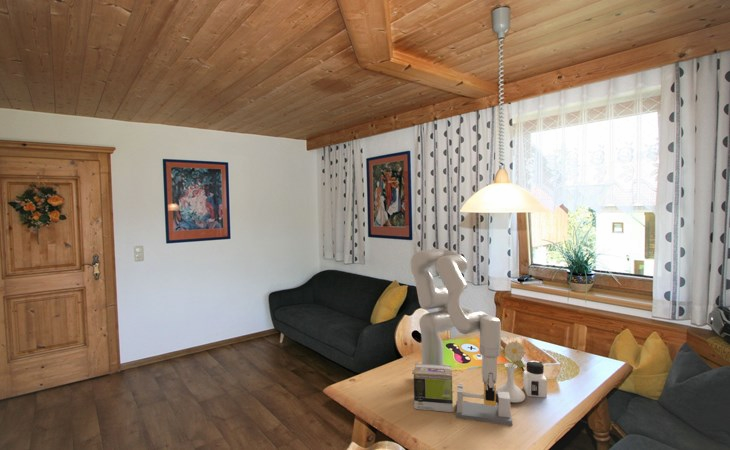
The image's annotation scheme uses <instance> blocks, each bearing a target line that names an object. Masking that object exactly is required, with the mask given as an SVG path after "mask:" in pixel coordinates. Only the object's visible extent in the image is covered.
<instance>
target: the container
mask: <svg viewBox="0 0 730 450" xmlns="http://www.w3.org/2000/svg"><path fill="white" fill-rule="evenodd" d="M544 369H545V368H544V364H543V363H541V362H540V361H537V360H529V361H527V362H526V370H523V379H522V381H523V382H522V383H523V384H522V385H523V386H522V387H523V390H524V392H525V395H526V396H527V397H534V398H545V399H547V395H548V393H547V392H548V380H547V378H546V376H545V374H544Z"/></svg>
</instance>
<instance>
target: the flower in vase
mask: <svg viewBox="0 0 730 450" xmlns="http://www.w3.org/2000/svg"><path fill="white" fill-rule="evenodd" d="M525 350H526V349H525V346H524V345H523V344H522V343H520V342H519V341H517V340H515V341H511V342H508V343H507V344H506V346H505V347H504V354H505V355H504V358H505V359H506V360H507V361H508V363H507V362H505V363H504V365H503V366H504V367H505V369H506V372H507V373H506V374H507V380H506V382H505V383H504V384H502V385H500V386H499V387H498V388H497V387H496V394H498V391H500V392H509V396H510V403H521V402H523V401H524V400H525V399H526V393H524V392H525V391H523V390H522V389H521V388H519V387H518V386H517V385H516V384H515V381H514V375H515V371H516V369H517V368H518V367H519V368H526V366H525V364H524V362H523V360H522V359H523V358H524V357H525V354H526V352H525ZM515 363H516V364H515Z"/></svg>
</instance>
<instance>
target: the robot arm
mask: <svg viewBox="0 0 730 450" xmlns="http://www.w3.org/2000/svg"><path fill="white" fill-rule="evenodd" d="M410 269H411V270H410V271H411V272H412V275H413V278H414V282H415V288H416V293H417V298H418V303H419V306H420V308H421V309H423V310H434V309H438V310H436V311H431V312H427V313H425V314H423V315H422V316H421V317H420V319H419V320H418V321H419V323H418V324H419V330H420V338H421V364H430V365H444V342H443V340H442V338H441V336H440V334H441V333H444V332H449V331H452V330H453V329H456V330H457V331H458V333H460V334H462V335H468V334H473V333H476V332H479V354H480V355H481V380H482V382H483V383H484V382H486V400H488V401H495V390H494V384H495V385H496V384H497V375H498V358H499V357H501V351H502V350H501V346H502V345H501V341H502V340H501V339H502V322H501V320H500V319H499V318H498V317H496V316H493V315H492V316H491V315H489V314H488V313H486V312H484V311H481V310H476V311H471V312H467V313H466V312H465V313H464V311H463V309H462V307H461V305H460V303H461V302H460V297H461V295H462V294H463V293H464V292H466V291H467V289H468V283H467V282H466V280H465V278H464V276H463V275H462V274H463V273H465V272H466V271H467V269H468V263H467V260H466V258H465V257H464V256H462V255H461V254H459V253H457V252H453V251H450V250H448V249H444V248H433V249H423V250H419V251H416V252H414V253H413V255H412V257H411V258H410ZM429 269H435V270H436V271H437V273H438V275H439V278H440V280H441V281H442V283H443V285H444V286H436V284H435V279H434V276H433V274H432V273H431V272H430V271H429ZM411 373H412V375H414V369H412V372H411ZM487 380H488V381H487ZM488 384H489V385H488Z"/></svg>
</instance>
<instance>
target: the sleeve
mask: <svg viewBox="0 0 730 450" xmlns="http://www.w3.org/2000/svg"><path fill="white" fill-rule="evenodd" d="M487 381H488V380H487ZM488 385H489V384H488ZM496 386H497V385H496V383H495V384H494V390H495V401H488V400H486V382H483V394H484V399H483V404H484V405H490V406H496V405H497V403H496V390H497V387H496Z"/></svg>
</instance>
